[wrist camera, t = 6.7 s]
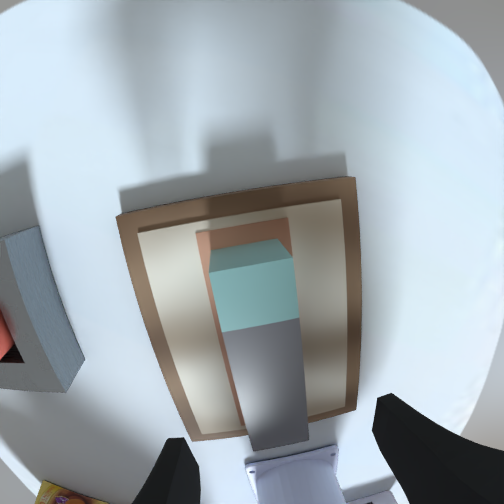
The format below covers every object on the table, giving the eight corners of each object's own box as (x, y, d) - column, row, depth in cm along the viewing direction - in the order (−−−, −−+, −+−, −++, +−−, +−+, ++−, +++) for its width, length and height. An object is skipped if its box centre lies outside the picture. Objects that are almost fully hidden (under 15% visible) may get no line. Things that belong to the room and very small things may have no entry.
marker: (298, 416, 18) (309, 450, 15) (250, 425, 18) (256, 461, 15) (277, 238, 15) (292, 257, 11) (210, 250, 14) (208, 273, 11)
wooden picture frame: (351, 401, 20) (357, 412, 19) (192, 431, 19) (191, 444, 18) (347, 176, 15) (357, 177, 14) (121, 213, 15) (113, 217, 13)
